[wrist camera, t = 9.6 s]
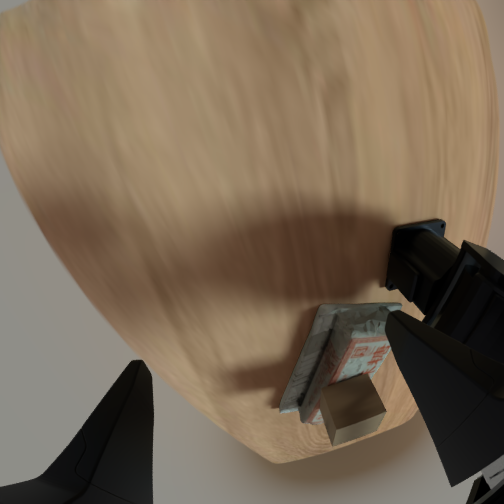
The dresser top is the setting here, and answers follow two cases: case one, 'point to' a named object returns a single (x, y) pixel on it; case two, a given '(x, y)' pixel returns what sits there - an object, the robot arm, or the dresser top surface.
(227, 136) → the dresser top surface
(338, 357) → the packaged product
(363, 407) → the walnut block
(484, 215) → the dresser top surface
